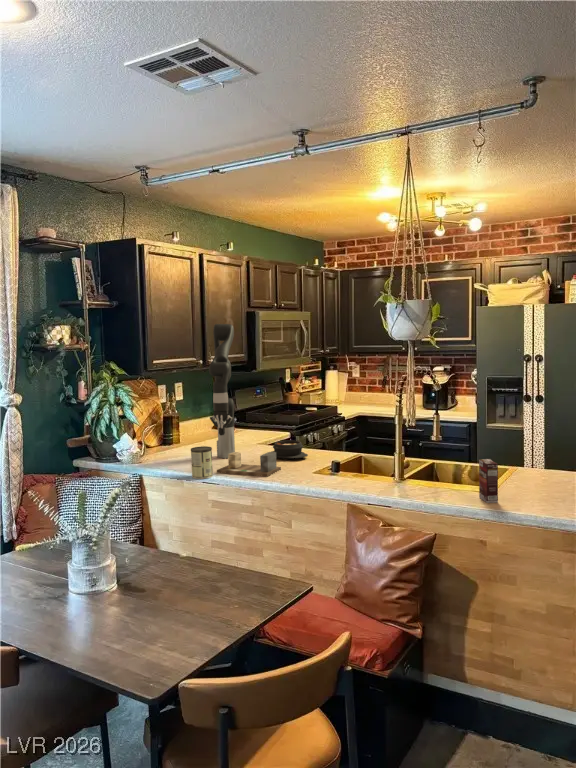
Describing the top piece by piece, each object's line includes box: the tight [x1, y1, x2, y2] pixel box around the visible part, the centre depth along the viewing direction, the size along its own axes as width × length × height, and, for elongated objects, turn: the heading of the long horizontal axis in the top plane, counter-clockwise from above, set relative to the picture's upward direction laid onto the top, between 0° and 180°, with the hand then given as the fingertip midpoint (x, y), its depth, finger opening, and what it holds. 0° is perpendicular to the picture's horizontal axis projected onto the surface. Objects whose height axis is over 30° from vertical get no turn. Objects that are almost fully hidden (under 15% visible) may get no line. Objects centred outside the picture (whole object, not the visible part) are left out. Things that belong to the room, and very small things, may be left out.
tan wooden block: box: [227, 451, 242, 469], centre depth 311 cm, size 4×10×7 cm, turn 156°
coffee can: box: [190, 445, 214, 480], centre depth 301 cm, size 10×10×14 cm
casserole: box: [270, 439, 309, 460], centre depth 342 cm, size 25×19×8 cm
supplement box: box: [478, 458, 499, 504], centre depth 246 cm, size 9×5×16 cm, turn 3°
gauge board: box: [216, 451, 282, 478], centre depth 310 cm, size 28×16×10 cm, turn 66°
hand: (221, 435), depth 315 cm, fingers closed
